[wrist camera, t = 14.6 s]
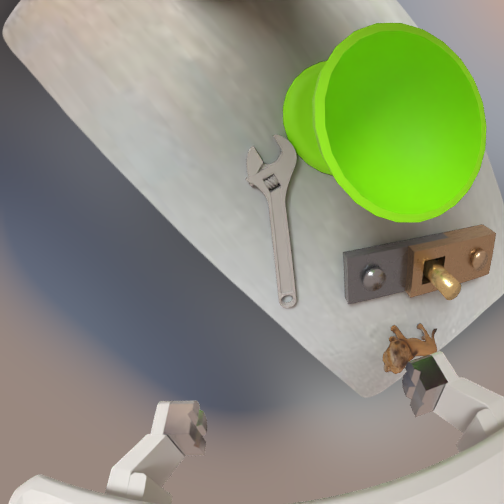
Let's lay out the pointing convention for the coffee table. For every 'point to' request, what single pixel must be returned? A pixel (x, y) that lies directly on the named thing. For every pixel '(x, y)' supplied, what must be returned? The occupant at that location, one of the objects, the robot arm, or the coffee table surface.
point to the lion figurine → (406, 349)
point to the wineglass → (390, 121)
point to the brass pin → (441, 279)
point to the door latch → (416, 263)
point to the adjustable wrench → (277, 209)
